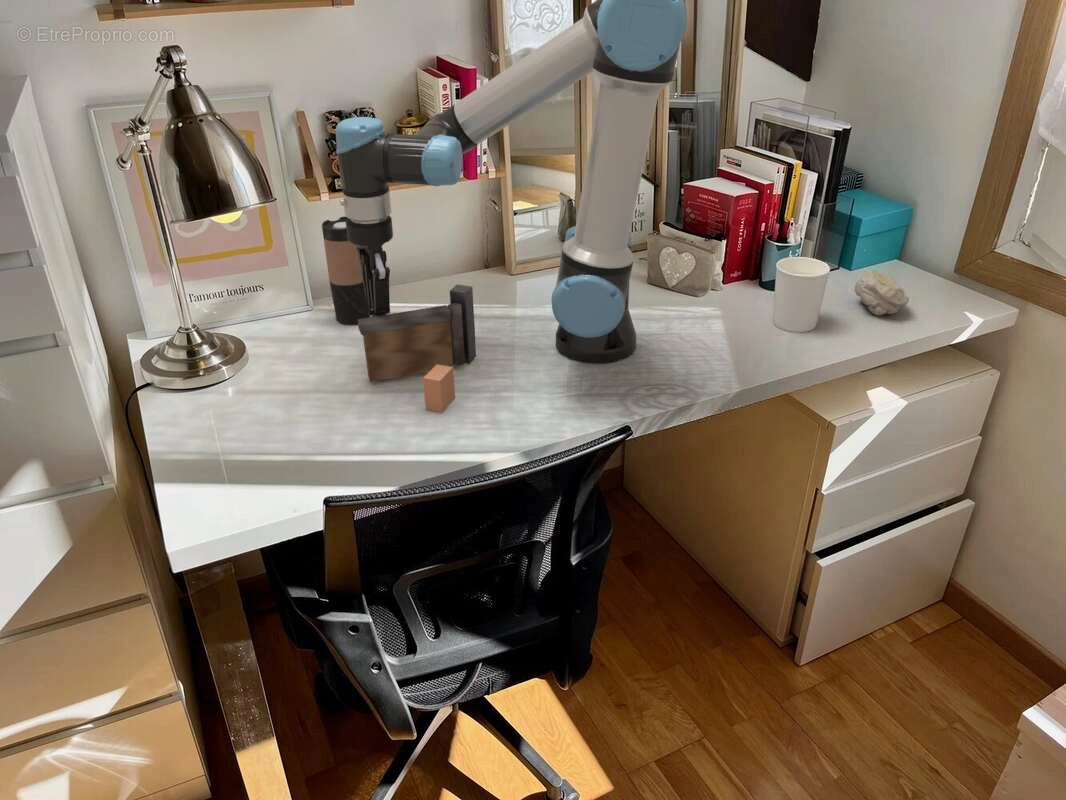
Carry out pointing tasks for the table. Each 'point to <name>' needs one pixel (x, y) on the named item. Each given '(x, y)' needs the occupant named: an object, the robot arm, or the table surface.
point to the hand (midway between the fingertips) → (381, 344)
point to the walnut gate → (413, 341)
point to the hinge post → (466, 318)
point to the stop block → (439, 388)
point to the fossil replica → (880, 293)
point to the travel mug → (344, 273)
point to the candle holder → (799, 293)
